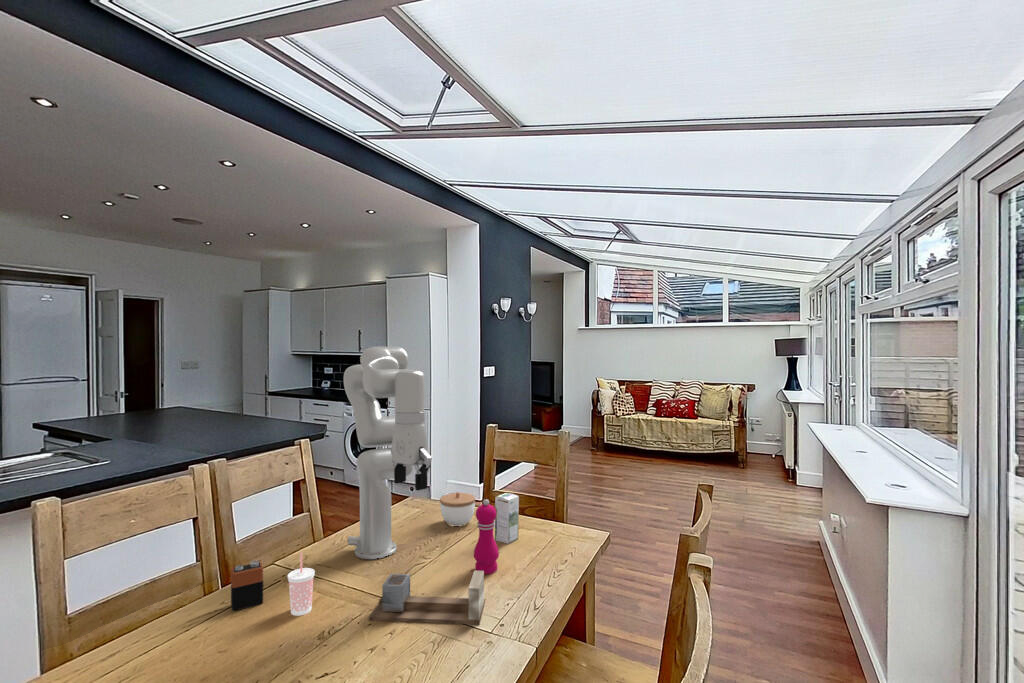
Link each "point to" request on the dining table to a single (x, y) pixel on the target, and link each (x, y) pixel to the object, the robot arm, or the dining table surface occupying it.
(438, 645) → the dining table surface
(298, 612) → the beverage cup
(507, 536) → the syrup box
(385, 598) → the block
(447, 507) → the lidded bowl
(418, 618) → the rail
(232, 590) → the battery
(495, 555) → the pepper mill
